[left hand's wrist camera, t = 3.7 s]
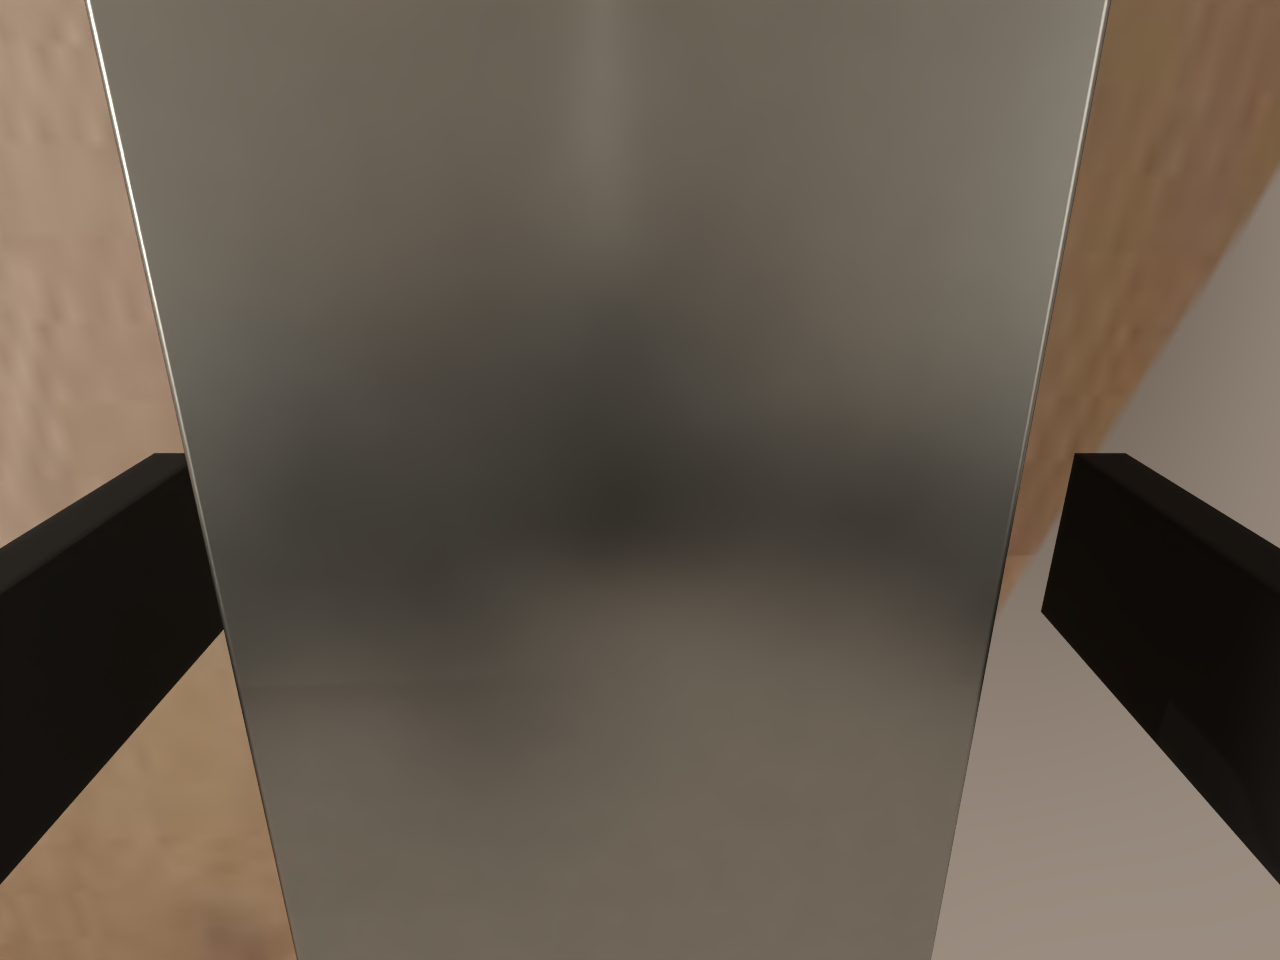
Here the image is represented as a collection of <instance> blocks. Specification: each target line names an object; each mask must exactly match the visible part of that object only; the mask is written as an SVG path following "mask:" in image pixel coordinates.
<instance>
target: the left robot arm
mask: <svg viewBox="0 0 1280 960" xmlns="http://www.w3.org/2000/svg"><path fill="white" fill-rule="evenodd" d="M1041 612H1042V613H1043V614H1044V616H1045V617H1046V618H1047V619H1048V620H1049V621H1050V622H1051V624H1052V625H1053V626H1054V627H1055V628H1056V629H1057V630H1058V632H1059V633H1060V634H1061V635H1062V636H1063V637H1064V638H1065V640H1066V641H1067V642H1068V643H1069V644H1070V645H1071V646H1072V648H1073V649H1074V650H1075V651H1076V652H1077V653H1078V654H1079V656H1080V657H1081V658H1082V659H1083V660H1084V661H1085V662H1086V664H1087V665H1088V666H1089V667H1090V668H1091V669H1092V670H1093V672H1094V673H1095V674H1096V675H1097V676H1098V677H1099V678H1100V680H1101V681H1102V682H1103V683H1104V684H1105V685H1106V686H1107V688H1108V689H1109V690H1110V691H1111V692H1112V693H1113V694H1114V696H1115V697H1116V698H1117V699H1118V700H1119V701H1120V702H1121V704H1122V705H1123V706H1124V707H1125V708H1126V709H1127V710H1128V712H1129V713H1130V714H1131V715H1132V716H1133V717H1134V718H1135V720H1136V721H1137V722H1138V723H1139V724H1140V725H1141V726H1142V728H1143V729H1144V730H1145V731H1146V732H1147V733H1148V734H1149V736H1150V737H1151V738H1152V739H1153V740H1154V741H1155V742H1156V744H1157V745H1158V746H1159V747H1160V748H1161V749H1162V750H1163V752H1164V753H1165V754H1166V755H1167V756H1168V757H1169V758H1170V760H1171V761H1172V762H1173V763H1174V764H1175V765H1176V766H1177V768H1178V769H1179V770H1180V771H1181V772H1182V773H1183V774H1184V776H1185V777H1186V778H1187V779H1188V780H1189V781H1190V782H1191V784H1192V785H1193V786H1194V787H1195V788H1196V789H1197V790H1198V792H1199V793H1200V794H1201V795H1202V796H1203V797H1204V798H1205V800H1206V801H1207V802H1208V803H1209V804H1210V805H1211V806H1212V808H1213V809H1214V810H1215V811H1216V812H1217V813H1218V814H1219V816H1220V817H1221V818H1222V819H1223V820H1224V821H1225V822H1226V824H1227V825H1228V826H1229V827H1230V828H1231V829H1232V830H1233V832H1234V833H1235V834H1236V835H1237V836H1238V837H1239V838H1240V840H1241V841H1242V842H1243V843H1244V844H1245V845H1246V846H1247V848H1248V849H1249V850H1250V851H1251V852H1252V853H1253V854H1254V856H1255V857H1256V858H1257V859H1258V860H1259V861H1260V862H1261V864H1262V865H1263V866H1264V867H1265V868H1266V869H1267V870H1268V872H1269V873H1270V874H1271V875H1272V876H1273V877H1274V878H1275V880H1276V881H1277V882H1278V883H1279V884H1280V548H1278V547H1277V546H1275V545H1273V544H1272V543H1270V542H1268V541H1267V540H1265V539H1264V538H1262V537H1260V536H1259V535H1257V534H1255V533H1254V532H1252V531H1251V530H1249V529H1247V528H1246V527H1244V526H1242V525H1241V524H1239V523H1238V522H1236V521H1234V520H1233V519H1231V518H1230V517H1228V516H1226V515H1225V514H1223V513H1221V512H1220V511H1218V510H1217V509H1215V508H1213V507H1212V506H1210V505H1208V504H1207V503H1205V502H1204V501H1202V500H1200V499H1199V498H1197V497H1196V496H1194V495H1192V494H1191V493H1189V492H1187V491H1186V490H1184V489H1183V488H1181V487H1179V486H1178V485H1176V484H1174V483H1173V482H1171V481H1170V480H1168V479H1166V478H1165V477H1163V476H1162V475H1160V474H1158V473H1157V472H1155V471H1153V470H1152V469H1150V468H1149V467H1147V466H1145V465H1144V464H1142V463H1140V462H1139V461H1137V460H1136V459H1134V458H1132V457H1131V456H1129V455H1128V454H1126V453H1075V455H1074V460H1073V464H1072V469H1071V474H1070V478H1069V483H1068V488H1067V492H1066V497H1065V502H1064V506H1063V511H1062V516H1061V521H1060V525H1059V530H1058V535H1057V539H1056V544H1055V549H1054V553H1053V558H1052V563H1051V567H1050V572H1049V577H1048V581H1047V586H1046V591H1045V595H1044V600H1043V605H1042V609H1041ZM223 629H224V628H223V623H222V619H221V614H220V610H219V605H218V601H217V596H216V592H215V587H214V583H213V578H212V574H211V569H210V565H209V560H208V556H207V551H206V547H205V542H204V538H203V533H202V529H201V524H200V520H199V515H198V510H197V506H196V501H195V497H194V492H193V488H192V483H191V479H190V474H189V470H188V465H187V461H186V456H185V453H154V454H152V455H151V456H149V457H148V458H146V459H144V460H143V461H141V462H140V463H138V464H136V465H135V466H133V467H131V468H130V469H128V470H127V471H125V472H123V473H122V474H120V475H118V476H117V477H115V478H114V479H112V480H110V481H109V482H107V483H106V484H104V485H102V486H101V487H99V488H97V489H96V490H94V491H93V492H91V493H89V494H88V495H86V496H84V497H83V498H81V499H80V500H78V501H76V502H75V503H73V504H72V505H70V506H68V507H67V508H65V509H63V510H62V511H60V512H59V513H57V514H55V515H54V516H52V517H50V518H49V519H47V520H46V521H44V522H42V523H41V524H39V525H38V526H36V527H34V528H33V529H31V530H29V531H28V532H26V533H25V534H23V535H21V536H20V537H18V538H16V539H15V540H13V541H12V542H10V543H8V544H7V545H5V546H3V547H2V548H0V884H1V883H2V882H3V881H4V880H5V878H6V877H7V876H8V875H9V874H10V873H11V872H12V870H13V869H14V868H15V867H16V866H17V865H18V864H19V862H20V861H21V860H22V859H23V858H24V857H25V856H26V854H27V853H28V852H29V851H30V850H31V849H32V848H33V846H34V845H35V844H36V843H37V842H38V841H39V840H40V838H41V837H42V836H43V835H44V834H45V833H46V832H47V830H48V829H49V828H50V827H51V826H52V825H53V824H54V822H55V821H56V820H57V819H58V818H59V817H60V816H61V814H62V813H63V812H64V811H65V810H66V809H67V808H68V806H69V805H70V804H71V803H72V802H73V801H74V800H75V798H76V797H77V796H78V795H79V794H80V793H81V792H82V790H83V789H84V788H85V787H86V786H87V785H88V784H89V782H90V781H91V780H92V779H93V778H94V777H95V776H96V774H97V773H98V772H99V771H100V770H101V769H102V768H103V766H104V765H105V764H106V763H107V762H108V761H109V760H110V758H111V757H112V756H113V755H114V754H115V753H116V752H117V750H118V749H119V748H120V747H121V746H122V745H123V744H124V742H125V741H126V740H127V739H128V738H129V737H130V736H131V734H132V733H133V732H134V731H135V730H136V729H137V728H138V726H139V725H140V724H141V723H142V722H143V721H144V720H145V718H146V717H147V716H148V715H149V714H150V713H151V712H152V710H153V709H154V708H155V707H156V706H157V705H158V704H159V702H160V701H161V700H162V699H163V698H164V697H165V696H166V694H167V693H168V692H169V691H170V690H171V689H172V688H173V686H174V685H175V684H176V683H177V682H178V681H179V680H180V678H181V677H182V676H183V675H184V674H185V673H186V672H187V670H188V669H189V668H190V667H191V666H192V665H193V664H194V662H195V661H196V660H197V659H198V658H199V657H200V656H201V654H202V653H203V652H204V651H205V650H206V649H207V648H208V646H209V645H210V644H211V643H212V642H213V641H214V640H215V638H216V637H217V636H218V635H219V634H220V633H221V632H222V630H223Z"/></svg>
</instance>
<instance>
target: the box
mask: <svg viewBox="0 0 1280 960" xmlns="http://www.w3.org/2000/svg"><path fill="white" fill-rule="evenodd" d="M84 1H85V5H86V10H87V14H88V19H89V23H90V28H91V32H92V37H93V41H94V46H95V50H96V55H97V59H98V64H99V68H100V73H101V77H102V82H103V86H104V91H105V96H106V100H107V105H108V109H109V114H110V118H111V123H112V127H113V132H114V136H115V141H116V145H117V150H118V154H119V159H120V163H121V168H122V172H123V177H124V181H125V186H126V190H127V195H128V199H129V204H130V208H131V213H132V217H133V222H134V226H135V231H136V235H137V240H138V244H139V249H140V253H141V258H142V262H143V267H144V271H145V276H146V280H147V285H148V289H149V294H150V298H151V303H152V308H153V312H154V317H155V321H156V326H157V330H158V335H159V339H160V344H161V348H162V353H163V357H164V362H165V366H166V371H167V375H168V380H169V384H170V389H171V393H172V398H173V402H174V407H175V411H176V416H177V420H178V425H179V429H180V434H181V438H182V443H183V447H184V452H185V456H186V461H187V465H188V470H189V474H190V479H191V483H192V488H193V492H194V497H195V501H196V506H197V510H198V515H199V520H200V524H201V529H202V533H203V538H204V542H205V547H206V551H207V556H208V560H209V565H210V569H211V574H212V578H213V583H214V587H215V592H216V596H217V601H218V605H219V610H220V614H221V619H222V623H223V628H224V632H225V637H226V641H227V646H228V650H229V655H230V659H231V664H232V668H233V673H234V677H235V682H236V686H237V691H238V695H239V700H240V704H241V709H242V713H243V718H244V722H245V727H246V732H247V736H248V741H249V745H250V750H251V754H252V759H253V763H254V768H255V772H256V777H257V781H258V786H259V790H260V795H261V799H262V804H263V808H264V813H265V817H266V822H267V826H268V831H269V835H270V840H271V844H272V849H273V853H274V858H275V862H276V867H277V871H278V876H279V880H280V885H281V889H282V894H283V898H284V903H285V907H286V912H287V916H288V921H289V925H290V930H291V934H292V939H293V943H294V948H295V953H296V957H297V960H931V956H932V951H933V946H934V940H935V935H936V930H937V924H938V919H939V914H940V908H941V903H942V898H943V892H944V887H945V882H946V876H947V871H948V866H949V860H950V855H951V850H952V845H953V839H954V834H955V829H956V823H957V818H958V812H959V807H960V802H961V797H962V791H963V786H964V781H965V775H966V770H967V765H968V759H969V754H970V749H971V743H972V738H973V733H974V727H975V722H976V717H977V712H978V706H979V701H980V695H981V690H982V685H983V680H984V674H985V669H986V663H987V658H988V653H989V648H990V642H991V637H992V632H993V626H994V621H995V616H996V610H997V605H998V600H999V594H1000V589H1001V584H1002V579H1003V573H1004V568H1005V563H1006V557H1007V552H1008V547H1009V541H1010V536H1011V531H1012V525H1013V520H1014V515H1015V509H1016V504H1017V499H1018V493H1019V488H1020V483H1021V477H1022V472H1023V467H1024V461H1025V456H1026V451H1027V446H1028V440H1029V435H1030V430H1031V424H1032V419H1033V414H1034V408H1035V403H1036V398H1037V392H1038V387H1039V382H1040V376H1041V371H1042V366H1043V360H1044V355H1045V350H1046V344H1047V339H1048V334H1049V328H1050V323H1051V318H1052V313H1053V307H1054V302H1055V297H1056V291H1057V286H1058V281H1059V275H1060V270H1061V265H1062V259H1063V254H1064V249H1065V243H1066V238H1067V233H1068V227H1069V222H1070V217H1071V211H1072V206H1073V201H1074V195H1075V190H1076V185H1077V180H1078V174H1079V169H1080V164H1081V158H1082V153H1083V148H1084V142H1085V137H1086V132H1087V126H1088V121H1089V116H1090V110H1091V105H1092V100H1093V94H1094V89H1095V84H1096V78H1097V73H1098V68H1099V62H1100V57H1101V52H1102V47H1103V41H1104V36H1105V31H1106V25H1107V20H1108V15H1109V9H1110V4H1111V0H84Z"/></svg>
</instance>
